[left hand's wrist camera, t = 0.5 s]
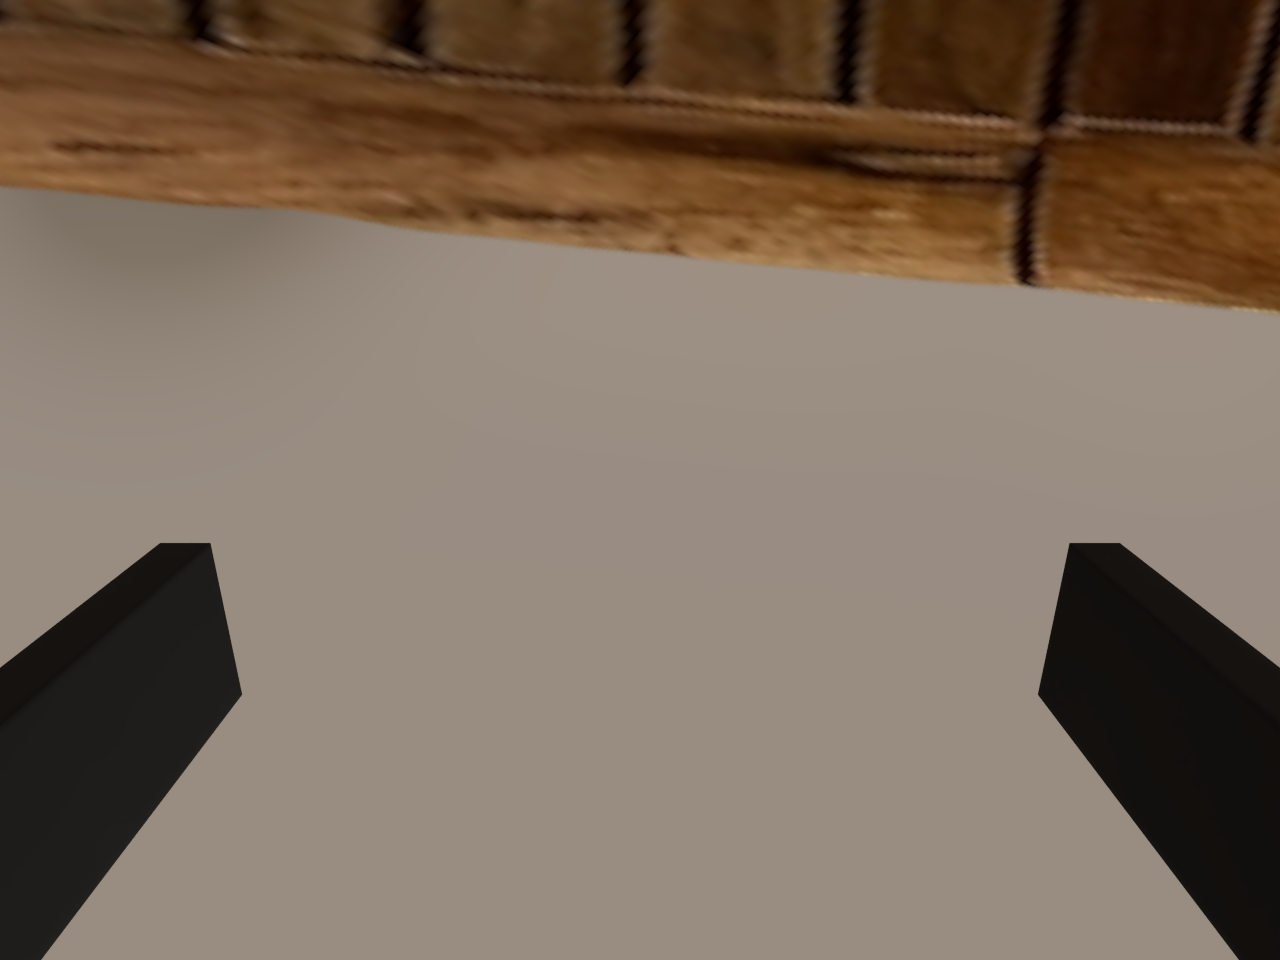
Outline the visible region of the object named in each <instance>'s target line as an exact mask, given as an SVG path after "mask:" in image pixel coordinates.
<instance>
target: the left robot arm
mask: <svg viewBox="0 0 1280 960" xmlns="http://www.w3.org/2000/svg"><path fill="white" fill-rule="evenodd" d="M241 695H242V692H241V687H240V682H239V678H238V673H237V668H236V663H235V659H234V654H233V649H232V644H231V639H230V635H229V630H228V625H227V620H226V615H225V611H224V606H223V601H222V596H221V592H220V587H219V582H218V577H217V572H216V568H215V563H214V558H213V553H212V549H211V544H210V543H160V544H158V545H157V546H156V547H155V548H153V549H152V550H151V551H149V552H148V553H147V554H146V555H144V556H143V557H142V558H140V559H139V560H138V561H137V562H135V563H134V564H133V565H132V566H130V567H129V568H128V569H126V570H125V571H124V572H123V573H121V574H120V575H119V576H117V577H116V578H115V579H114V580H112V581H111V582H110V583H108V584H107V585H106V586H105V587H103V588H102V589H101V590H99V591H98V592H97V593H96V594H94V595H93V596H92V597H90V598H89V599H88V600H87V601H85V602H84V603H83V604H81V605H80V606H79V607H78V608H76V609H75V610H74V611H72V612H71V613H70V614H69V615H67V616H66V617H65V618H63V619H62V620H61V621H60V622H58V623H57V624H56V625H54V626H53V627H52V628H51V629H49V630H48V631H47V632H45V633H44V634H43V635H42V636H40V637H39V638H38V639H37V640H35V641H34V642H33V643H31V644H30V645H29V646H28V647H26V648H25V649H24V650H22V651H21V652H20V653H19V654H17V655H16V656H15V657H13V658H12V659H11V660H10V661H8V662H7V663H6V664H4V665H3V666H2V667H1V668H0V960H41V959H42V958H43V957H44V955H45V954H46V953H47V951H48V950H49V949H50V947H51V946H52V945H53V943H54V942H55V941H56V939H57V938H58V937H59V935H60V934H61V933H62V932H63V930H64V929H65V928H66V926H67V925H68V924H69V922H70V921H71V920H72V918H73V917H74V916H75V914H76V913H77V912H78V910H79V909H80V908H81V906H82V905H83V904H84V903H85V901H86V900H87V899H88V897H89V896H90V895H91V893H92V892H93V891H94V889H95V888H96V887H97V885H98V884H99V883H100V881H101V880H102V879H103V877H104V876H105V875H106V873H107V872H108V871H109V869H110V868H111V867H112V865H113V864H114V863H115V862H116V860H117V859H118V858H119V856H120V855H121V854H122V852H123V851H124V850H125V848H126V847H127V846H128V844H129V843H130V842H131V840H132V839H133V838H134V837H135V835H136V834H137V833H138V831H139V830H140V829H141V827H142V826H143V825H144V823H145V822H146V821H147V819H148V818H149V817H150V815H151V814H152V813H153V811H154V810H155V809H156V808H157V806H158V805H159V804H160V802H161V801H162V800H163V798H164V797H165V796H166V794H167V793H168V792H169V790H170V789H171V788H172V786H173V785H174V784H175V782H176V781H177V780H178V778H179V777H180V776H181V774H182V773H183V772H184V771H185V769H186V768H187V767H188V765H189V764H190V763H191V761H192V760H193V759H194V757H195V756H196V755H197V753H198V752H199V751H200V749H201V748H202V747H203V745H204V744H205V743H206V741H207V740H208V739H209V738H210V736H211V735H212V734H213V732H214V731H215V730H216V728H217V727H218V726H219V724H220V723H221V722H222V720H223V719H224V718H225V716H226V715H227V714H228V712H229V711H230V710H231V709H232V707H233V706H234V705H235V703H236V702H237V701H238V699H239V698H240V697H241ZM1038 695H1039V697H1040V698H1041V699H1042V701H1043V702H1044V703H1045V705H1046V706H1047V707H1048V709H1049V710H1050V711H1051V712H1052V714H1053V715H1054V716H1055V718H1056V719H1057V720H1058V722H1059V723H1060V724H1061V726H1062V727H1063V728H1064V730H1065V731H1066V732H1067V734H1068V735H1069V736H1070V738H1071V739H1072V740H1073V741H1074V743H1075V744H1076V745H1077V747H1078V748H1079V749H1080V751H1081V752H1082V753H1083V755H1084V756H1085V757H1086V759H1087V760H1088V761H1089V763H1090V764H1091V765H1092V767H1093V768H1094V769H1095V771H1096V772H1097V773H1098V775H1099V776H1100V777H1101V778H1102V780H1103V781H1104V782H1105V784H1106V785H1107V786H1108V788H1109V789H1110V790H1111V792H1112V793H1113V794H1114V796H1115V797H1116V798H1117V800H1118V801H1119V802H1120V804H1121V805H1122V806H1123V807H1124V809H1125V810H1126V811H1127V813H1128V814H1129V815H1130V817H1131V818H1132V819H1133V821H1134V822H1135V823H1136V825H1137V826H1138V827H1139V829H1140V830H1141V831H1142V833H1143V834H1144V835H1145V837H1146V838H1147V839H1148V840H1149V842H1150V843H1151V844H1152V846H1153V847H1154V848H1155V850H1156V851H1157V852H1158V854H1159V855H1160V856H1161V858H1162V859H1163V860H1164V862H1165V863H1166V864H1167V866H1168V867H1169V868H1170V870H1171V871H1172V872H1173V873H1174V875H1175V876H1176V877H1177V879H1178V880H1179V881H1180V883H1181V884H1182V885H1183V887H1184V888H1185V889H1186V891H1187V892H1188V893H1189V895H1190V896H1191V897H1192V899H1193V900H1194V901H1195V902H1196V904H1197V905H1198V906H1199V908H1200V909H1201V910H1202V912H1203V913H1204V914H1205V916H1206V917H1207V918H1208V920H1209V921H1210V922H1211V924H1212V925H1213V926H1214V928H1215V929H1216V930H1217V932H1218V933H1219V934H1220V936H1221V937H1222V938H1223V939H1224V941H1225V942H1226V943H1227V945H1228V946H1229V947H1230V949H1231V950H1232V951H1233V953H1234V954H1235V955H1236V956H1237V958H1238V959H1239V960H1280V668H1279V667H1278V666H1277V665H1276V664H1274V663H1273V662H1272V661H1270V660H1269V659H1268V658H1267V657H1265V656H1264V655H1263V654H1261V653H1260V652H1259V651H1258V650H1256V649H1255V648H1254V647H1252V646H1251V645H1250V644H1249V643H1247V642H1246V641H1245V640H1243V639H1242V638H1241V637H1239V636H1238V635H1237V634H1236V633H1234V632H1233V631H1232V630H1231V629H1229V628H1228V627H1227V626H1226V625H1224V624H1223V623H1222V622H1220V621H1219V620H1218V619H1217V618H1215V617H1214V616H1213V615H1211V614H1210V613H1209V612H1208V611H1206V610H1205V609H1204V608H1202V607H1201V606H1200V605H1199V604H1197V603H1196V602H1195V601H1193V600H1192V599H1191V598H1190V597H1188V596H1187V595H1186V594H1184V593H1183V592H1182V591H1181V590H1179V589H1178V588H1177V587H1175V586H1174V585H1173V584H1172V583H1170V582H1169V581H1168V580H1166V579H1165V578H1164V577H1163V576H1161V575H1160V574H1159V573H1157V572H1156V571H1155V570H1154V569H1152V568H1151V567H1150V566H1148V565H1147V564H1146V563H1145V562H1143V561H1142V560H1141V559H1140V558H1138V557H1137V556H1136V555H1134V554H1133V553H1132V552H1131V551H1129V550H1128V549H1127V548H1125V547H1124V546H1123V545H1122V544H1120V543H1070V544H1069V549H1068V553H1067V558H1066V563H1065V568H1064V573H1063V577H1062V582H1061V587H1060V592H1059V596H1058V601H1057V606H1056V611H1055V615H1054V620H1053V625H1052V630H1051V635H1050V639H1049V644H1048V649H1047V654H1046V659H1045V663H1044V668H1043V673H1042V678H1041V682H1040V687H1039V692H1038Z"/></svg>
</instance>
